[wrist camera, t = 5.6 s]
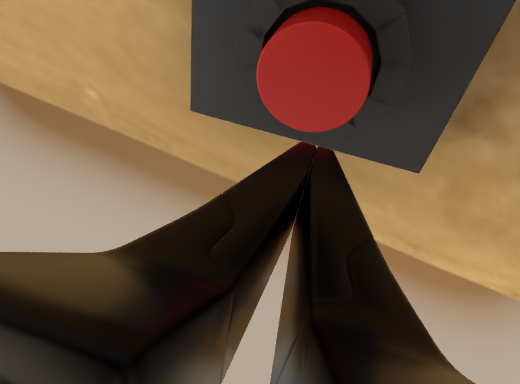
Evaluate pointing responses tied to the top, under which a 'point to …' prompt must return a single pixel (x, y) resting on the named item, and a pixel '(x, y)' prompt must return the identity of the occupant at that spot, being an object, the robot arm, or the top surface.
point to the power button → (316, 70)
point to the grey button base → (382, 77)
